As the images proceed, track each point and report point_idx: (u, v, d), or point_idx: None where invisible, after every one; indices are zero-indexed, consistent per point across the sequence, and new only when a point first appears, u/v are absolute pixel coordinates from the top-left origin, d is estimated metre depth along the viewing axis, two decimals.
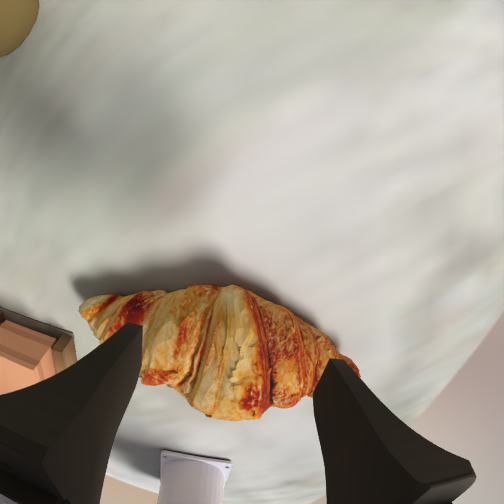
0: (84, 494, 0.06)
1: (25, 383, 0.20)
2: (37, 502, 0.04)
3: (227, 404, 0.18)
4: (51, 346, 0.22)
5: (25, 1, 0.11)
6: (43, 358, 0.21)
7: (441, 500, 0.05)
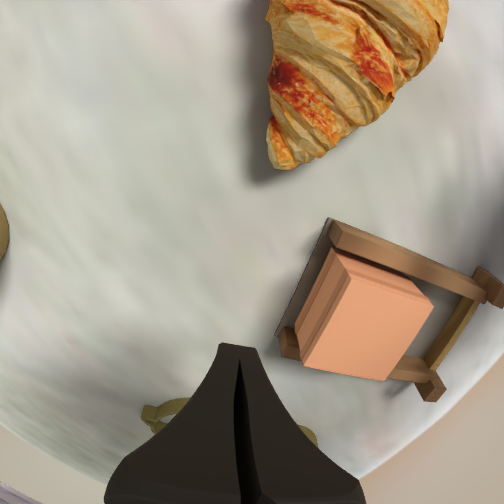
0: None
1: (373, 312, 0.16)
2: None
3: None
4: (336, 253, 0.19)
5: None
6: (345, 264, 0.17)
7: None
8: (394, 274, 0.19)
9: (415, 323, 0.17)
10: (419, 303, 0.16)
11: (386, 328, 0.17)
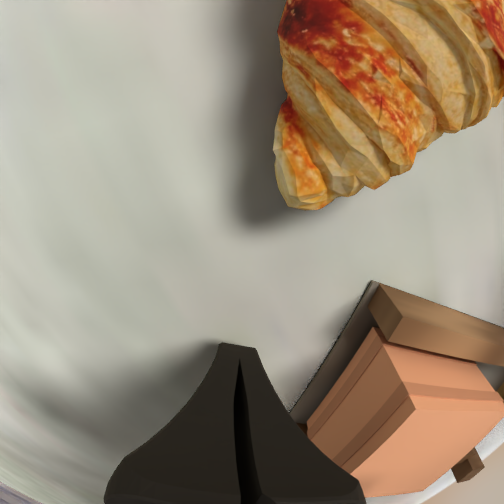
0: None
1: (433, 438, 0.08)
2: None
3: None
4: (383, 342, 0.11)
5: None
6: (400, 369, 0.09)
7: None
8: (456, 359, 0.11)
9: (481, 434, 0.09)
10: (494, 413, 0.08)
11: (444, 448, 0.09)
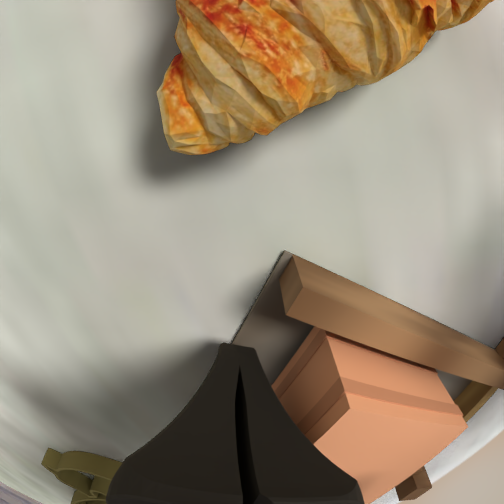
0: None
1: (375, 446, 0.08)
2: None
3: None
4: (328, 334, 0.10)
5: None
6: (340, 365, 0.09)
7: None
8: (414, 364, 0.11)
9: (434, 449, 0.09)
10: (449, 427, 0.08)
11: (390, 460, 0.09)
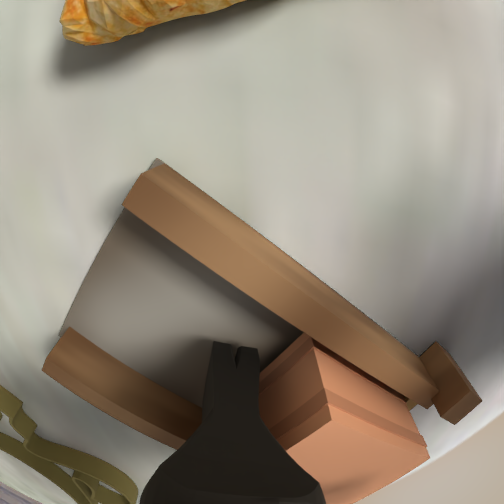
0: None
1: (343, 461, 0.08)
2: None
3: None
4: (315, 345, 0.11)
5: None
6: (324, 377, 0.09)
7: None
8: (387, 390, 0.12)
9: (395, 474, 0.09)
10: (414, 455, 0.09)
11: (352, 478, 0.09)
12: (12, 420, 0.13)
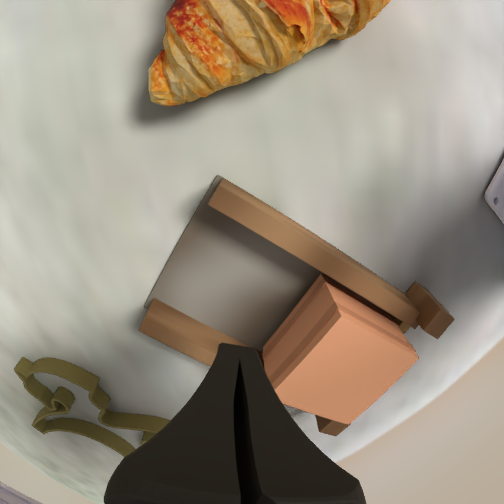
0: None
1: (355, 355, 0.15)
2: None
3: None
4: (326, 282, 0.17)
5: None
6: (334, 297, 0.15)
7: None
8: (381, 315, 0.18)
9: (395, 372, 0.15)
10: (405, 352, 0.15)
11: (364, 373, 0.15)
12: (92, 394, 0.20)
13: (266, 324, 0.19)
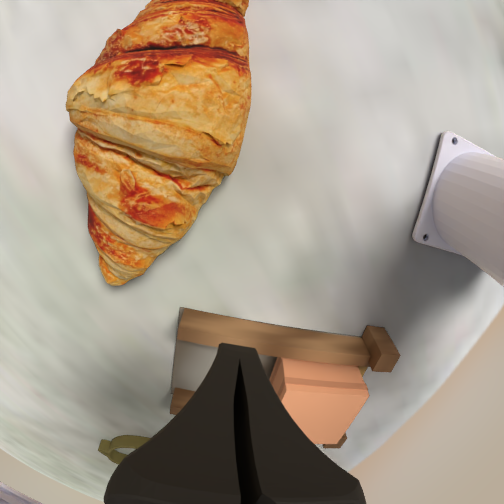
0: None
1: (311, 407, 0.19)
2: None
3: (142, 102, 0.11)
4: None
5: None
6: (286, 371, 0.21)
7: None
8: None
9: (353, 408, 0.20)
10: (353, 396, 0.19)
11: (326, 414, 0.20)
12: None
13: None
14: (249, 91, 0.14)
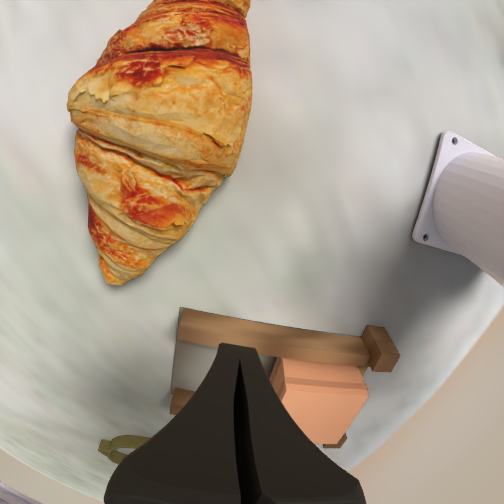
0: None
1: (311, 407, 0.19)
2: None
3: (143, 104, 0.11)
4: None
5: None
6: (286, 371, 0.21)
7: None
8: None
9: (353, 408, 0.20)
10: (353, 396, 0.19)
11: (326, 414, 0.20)
12: None
13: None
14: (250, 93, 0.14)
